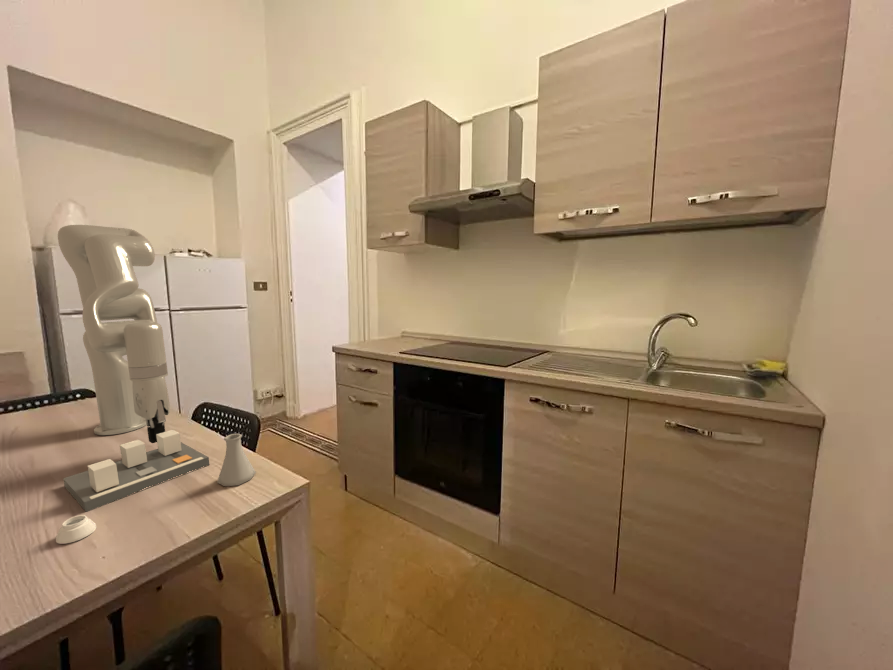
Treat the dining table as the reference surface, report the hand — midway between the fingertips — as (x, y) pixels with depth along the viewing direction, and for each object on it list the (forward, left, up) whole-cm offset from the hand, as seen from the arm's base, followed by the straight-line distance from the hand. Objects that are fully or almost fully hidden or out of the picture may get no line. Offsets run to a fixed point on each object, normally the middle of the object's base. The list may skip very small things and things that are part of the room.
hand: (157, 440), depth 96 cm
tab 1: (+14, -14, -1) cm, 20 cm away
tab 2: (+7, -7, -1) cm, 10 cm away
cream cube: (+7, 0, -1) cm, 8 cm away
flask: (+30, +5, -4) cm, 31 cm away
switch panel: (+10, -7, -3) cm, 13 cm away
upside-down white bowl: (+26, -21, -4) cm, 34 cm away
